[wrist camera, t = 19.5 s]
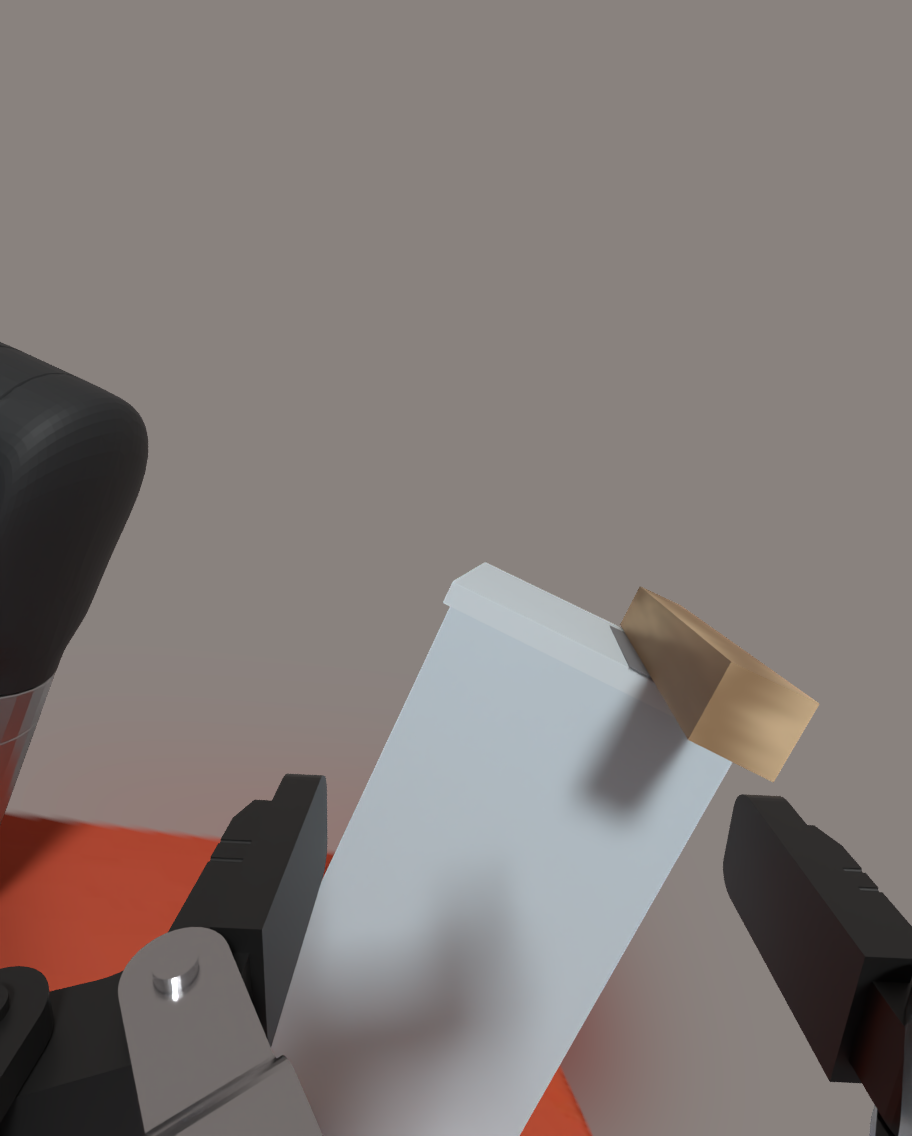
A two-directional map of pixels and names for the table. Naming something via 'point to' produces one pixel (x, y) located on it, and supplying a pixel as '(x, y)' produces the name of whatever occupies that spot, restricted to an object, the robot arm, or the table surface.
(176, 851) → the table surface
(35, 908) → the table surface
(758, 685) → the oak batten
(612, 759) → the light grey cabinet
